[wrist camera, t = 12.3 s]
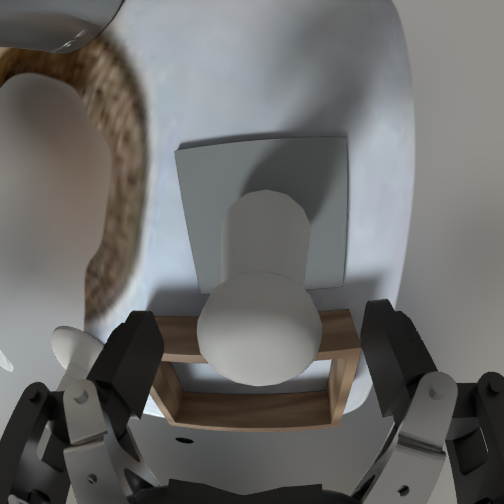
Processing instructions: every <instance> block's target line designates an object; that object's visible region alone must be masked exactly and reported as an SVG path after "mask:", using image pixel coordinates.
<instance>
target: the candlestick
mask: <svg viewBox="0 0 504 504" xmlns="http://www.w3.org/2000/svg"><path fill="white" fill-rule="evenodd" d="M51 345H52V348H53V351H54V354H55V356H56V358H57V359H58V361H59V362H60V364H61V365H62V366H63V368H64V369H65V370H66V373H65V375H64V376H63V378H62V380H61V382H60V384H59V386H58V388H57V390H56V391H65V390H66V388H67V387H68V386H69V385H70V384H71V383H73V382H74V381H76V380H80V379H86V377H87V376H88V374H89V372H90V370H91V368H92V366H93V365H94V363H95V361H96V359H97V357H98V356H99V354H100V352H101V350H103V347H104V345H103V344H101V343H100V342H99V341H98V340H96V339H95V338H93V337H92V336H90V335H88V334H87V333H85V332H83V331H81V330H78V329H76V328H73V327H69V326H60V327H57V328H56V329H55V330H54V331H53V333H52V335H51ZM50 435H51V432H50V431H48V430H47V429H46V428H45V429H44V431H43V434H42V436H41V439H40V441H39V444H38V447H37V456H38V458H39V459H40V460H41V459H42V457H43V454H44V451H45V448H46V446H47V443H48V440H49V438H50Z"/></svg>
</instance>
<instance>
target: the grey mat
mask: <svg viewBox="0 0 504 504" xmlns="http://www.w3.org/2000/svg"><path fill="white" fill-rule="evenodd" d="M174 153H175V160H176V166H177V173H178V179H179V185H180V191H181V197H182V203H183V208H184V214H185V219H186V225H187V230H188V235H189V240H190V245H191V250H192V255H193V260H194V264H195V269H196V274H197V278H198V283H199V287H200V291H201V294H211V292H212V290H213V289H215V288H216V287H217V286H219V285H220V284H221V224H222V222H223V220H224V218H225V216H226V214H227V211H228V209H229V207H230V206H231V205H232V204H234V203H235V202H236V201H238V200H239V199H240V198H242V197H243V196H244V195H245V194H247V193H251V192H256V191H261V190H266V189H267V190H271V191H276V192H280V193H284V194H287V195H288V196H290V197H291V198H292V199H293V200H294V201H295V202H296V203H298V204H299V205H300V206H301V207H302V208H303V209H304V211H305V214H306V216H307V218H308V220H309V223H310V225H311V233H310V241H309V250H308V258H307V265H306V273H305V280H304V287H303V288H304V289H319V288H333V287H343V275H344V262H345V246H346V224H347V148H346V137H299V138H279V139H264V140H252V141H241V142H232V143H223V144H215V145H207V146H200V147H194V148H187V149H181V150H176V151H174Z"/></svg>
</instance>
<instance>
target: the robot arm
mask: <svg viewBox="0 0 504 504" xmlns="http://www.w3.org/2000/svg"><path fill="white" fill-rule="evenodd" d="M121 2H122V0H0V47H11V48H23V49H32V50H40V51H47V52H54V53H62V54H64V53H70V52H73V51H75V50H78V49H80V48H81V47H83V46H84V45H86V44H88V43H89V42H90V41H91V40H93V39H94V38H95V37H96V36H97V35H98V34H99V33H100V32H101V31H102V30H103V29H104V28H105V27H106V26H107V25H108V23H109V22H110V21H111V20H112V18H113V17H114V15H115V14H116V12H117V10H118V8H119V6H120V4H121ZM360 339H361V346H362V350H363V353H364V356H365V359H366V362H367V365H368V368H369V372H370V375H371V378H372V381H373V385H374V388H375V392H376V395H377V399H378V402H379V406H380V409H381V413H382V417H387V416H392V415H393V418H394V421H395V422H394V424H393V426H392V428H391V430H390V432H389V434H388V436H387V438H386V440H385V442H384V444H383V445H382V447H381V449H380V451H379V453H378V455H377V457H376V458H375V460H374V462H373V463H372V465H371V467H370V468H369V470H368V471H367V472H366V474H365V475H364V476H363V478H362V479H361V480H360V482H359V484H358V485H357V486H356V488H355V489H354V491H353V492H352V494H351V495H350V496H348V495H346V494H343V493H340V492H336V491H331V490H323V489H322V484H315V485H305V486H292V487H281V488H277V489H273V490H268V491H264V492H259V493H254V494H249V495H238V494H235V493H231V492H228V491H224V490H221V489H218V488H215V487H212V486H209V485H206V484H201V483H193V482H187V481H180V480H175V479H169V484H168V485H163V486H161V485H160V484H159V482H158V480H157V479H156V477H155V476H154V475H153V473H152V472H151V471H150V470H149V468H148V467H147V465H146V464H145V462H144V460H143V457H142V455H141V453H140V451H139V449H138V446H137V444H136V442H135V440H134V437H133V435H132V432H131V430H130V428H129V426H128V424H127V423H128V420H129V418H133V419H138V420H140V419H141V416H142V413H143V410H144V407H145V404H146V401H147V399H148V396H149V393H150V390H151V387H152V384H153V382H154V379H155V376H156V373H157V370H158V368H159V365H160V362H161V360H162V357H163V354H164V340H163V337H162V335H161V332H160V330H159V327H158V325H157V322H156V320H155V317H154V315H153V313H152V312H151V311H132V312H131V313H130V314H129V316H128V318H127V319H126V321H125V323H121V324H120V325H119V326H118V327H117V328H116V329H114V330H113V331H112V333H111V335H110V336H109V338H108V340H107V343H105V345H104V347H103V350H101V352H100V354H99V356H98V357H97V359H96V361H95V363H94V365H93V366H92V368H91V370H90V372H89V374H88V376H87V377H86V379H80V380H76V381H74V382H73V383H71V384H70V385H69V386H68V387H67V388H66V390H65V391H54V392H50V390H49V389H48V388H47V387H46V386H45V385H44V384H43V383H41V382H35V383H32V384H30V385H29V386H28V387H27V388H26V389H25V390H24V392H23V394H22V396H21V398H20V400H19V401H18V403H17V405H16V407H15V409H14V411H13V414H12V416H11V418H10V420H9V422H8V424H7V426H6V428H5V431H4V433H3V435H2V438H1V440H0V504H66V500H67V496H68V492H69V488H70V484H71V485H72V488H73V491H74V494H75V497H76V500H77V503H78V504H426V503H427V501H428V499H429V497H430V495H431V493H432V491H433V489H434V486H435V484H436V482H437V480H438V477H439V474H440V472H441V470H442V467H443V465H444V461H445V457H446V453H445V452H444V451H442V448H443V444H444V441H445V443H446V447H447V451H448V455H449V459H450V464H451V468H452V473H453V479H454V484H455V490H456V497H457V504H504V377H503V376H502V375H500V374H499V373H496V372H487V373H485V374H483V375H482V376H481V378H480V379H479V381H478V382H477V383H456V382H455V381H454V380H453V378H452V377H450V376H449V375H448V374H446V373H443V372H438V370H437V368H436V366H435V364H434V362H433V360H432V358H431V356H430V354H429V352H428V350H427V348H426V346H425V345H424V343H423V341H422V340H421V337H420V335H419V334H418V331H416V328H415V326H414V324H413V323H412V321H411V319H410V318H409V317H407V316H406V315H405V314H404V313H403V312H402V311H394V309H393V307H392V305H391V303H390V301H389V300H388V299H381V300H373V301H368V302H367V304H366V308H365V313H364V318H363V323H362V328H361V335H360ZM45 428H46V429H47V430H48V431H50V432H51V435H50V438H49V440H48V443H47V446H46V448H45V451H44V454H43V457H42V459H41V460H40V459H39V458H38V456H37V447H38V444H39V441H40V439H41V436H42V434H43V431H44V429H45ZM480 428H481V429H482V432H483V435H482V432H481V429H480ZM483 436H484V438H483ZM484 439H485V442H486V445H487V449H488V452H487V449H486V445H485V442H484Z"/></svg>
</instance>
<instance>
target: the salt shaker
mask: <svg viewBox="0 0 504 504" xmlns="http://www.w3.org/2000/svg"><path fill="white" fill-rule="evenodd" d="M310 233H311V225H310V223H309V220H308V218H307V216H306V214H305V211H304V209H303V208H302V207H301V206H300V205H299V204H298V203H296V202H295V201H294V200H293V199H292V198H291V197H290V196H288V195H287V194H284V193H280V192H276V191H271V190H267V189H266V190H261V191H256V192H251V193H247V194H245V195H244V196H243V197H242V198H240V199H239V200H238V201H236V202H235V203H234V204H232V205H231V206H230V207H229V209H228V211H227V214H226V216H225V218H224V220H223V222H222V224H221V284H220V285H219V286H217V287H216V288H215V289H213V290H212V292H211V294H210V296H209V298H208V300H207V302H206V304H205V306H204V308H203V309H202V312H201V314H200V316H199V319H198V324H197V337H198V343H199V348H200V353H201V354H202V355H203V357H204V358H205V359H206V360H207V362H208V363H209V364H210V365H211V367H212V368H213V369H214V370H215V371H216V372H218V373H219V374H221V375H223V376H225V377H227V378H229V379H230V380H232V381H234V382H237V383H242V384H247V385H252V386H266V385H275V384H279V383H282V382H284V381H287V380H289V379H291V378H294V377H296V376H298V375H300V374H301V373H303V372H304V371H305V370H306V369H307V368H308V367H309V366H310V364H311V363H312V362H313V361H314V360H315V359H316V358H317V355H318V351H319V347H320V343H321V339H322V323H321V320H320V316H319V314H318V311H317V309H316V307H315V304H314V302H313V300H312V298H311V295H310V294H309V293H308V292H307V291H306V290H305V289H304V288H303V287H304V280H305V273H306V265H307V258H308V250H309V241H310Z"/></svg>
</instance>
